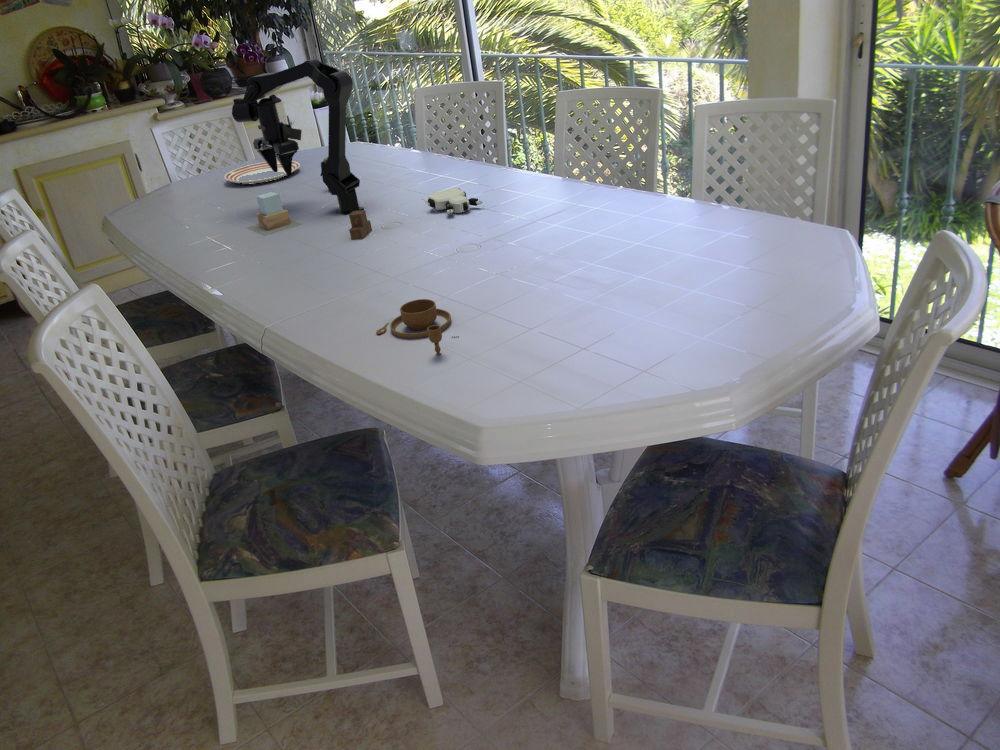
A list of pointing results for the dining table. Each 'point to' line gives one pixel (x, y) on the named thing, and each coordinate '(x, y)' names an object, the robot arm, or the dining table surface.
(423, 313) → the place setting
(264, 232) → the mat
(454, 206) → the robot toy
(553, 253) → the dining table surface
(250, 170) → the dinner plate
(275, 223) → the tan square block
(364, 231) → the stack of crates
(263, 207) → the slate block
